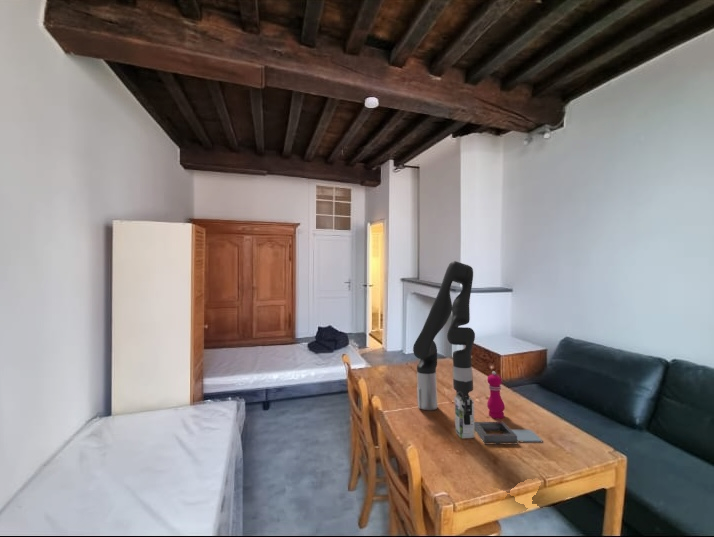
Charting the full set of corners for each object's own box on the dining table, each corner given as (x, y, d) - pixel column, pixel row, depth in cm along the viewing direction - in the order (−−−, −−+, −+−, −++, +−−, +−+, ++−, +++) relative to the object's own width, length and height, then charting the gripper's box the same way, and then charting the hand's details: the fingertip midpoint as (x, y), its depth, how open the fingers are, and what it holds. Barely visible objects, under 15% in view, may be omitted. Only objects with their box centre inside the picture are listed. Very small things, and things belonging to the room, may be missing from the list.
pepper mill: (491, 411, 143) (489, 368, 145) (507, 415, 138) (505, 371, 140) (485, 416, 138) (482, 371, 140) (501, 421, 133) (499, 374, 134)
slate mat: (518, 442, 115) (518, 440, 115) (508, 431, 124) (507, 429, 124) (542, 442, 114) (542, 440, 114) (530, 431, 123) (530, 429, 123)
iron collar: (484, 444, 114) (484, 435, 114) (474, 429, 126) (473, 421, 126) (517, 444, 113) (516, 435, 114) (503, 429, 125) (503, 421, 126)
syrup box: (455, 431, 123) (453, 395, 124) (469, 431, 124) (467, 394, 125) (460, 439, 118) (459, 400, 118) (475, 438, 118) (474, 399, 119)
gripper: (449, 372, 129) (450, 412, 128) (457, 383, 115) (459, 428, 114) (467, 372, 129) (468, 413, 128) (478, 383, 115) (480, 429, 114)
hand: (464, 420), depth 121 cm, fingers closed on syrup box, 6 cm apart
